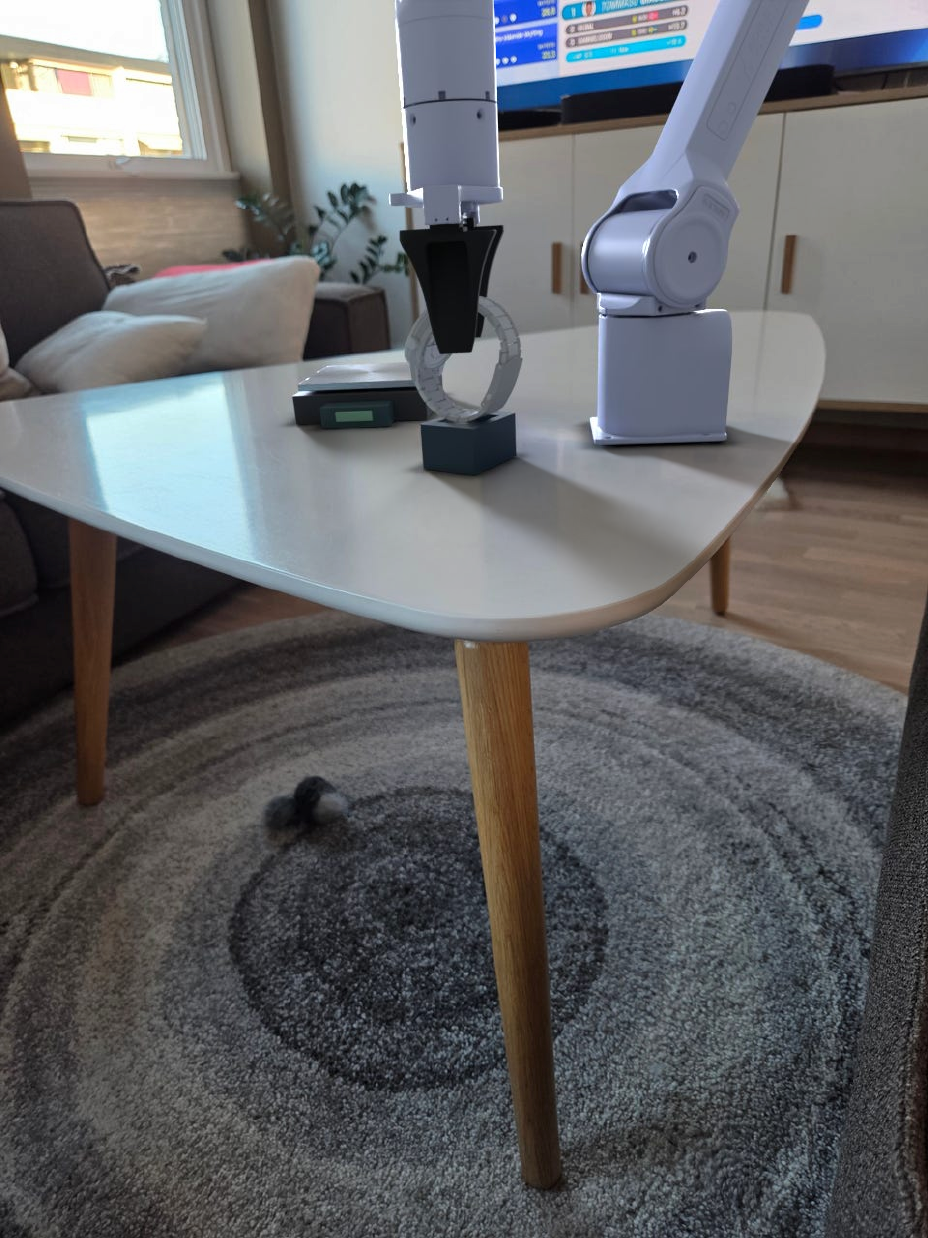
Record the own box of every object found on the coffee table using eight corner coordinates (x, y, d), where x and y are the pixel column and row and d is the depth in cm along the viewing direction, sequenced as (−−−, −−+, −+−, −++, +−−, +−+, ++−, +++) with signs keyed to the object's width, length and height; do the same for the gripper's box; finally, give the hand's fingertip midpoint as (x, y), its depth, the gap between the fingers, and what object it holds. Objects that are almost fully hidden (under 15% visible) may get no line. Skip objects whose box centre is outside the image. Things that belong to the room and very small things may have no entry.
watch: (445, 447, 62) (435, 293, 58) (537, 458, 58) (535, 292, 53) (400, 466, 58) (385, 301, 54) (496, 478, 54) (489, 301, 49)
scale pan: (435, 366, 81) (435, 360, 81) (420, 386, 72) (419, 379, 71) (328, 371, 83) (327, 365, 82) (298, 391, 73) (297, 384, 72)
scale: (443, 394, 83) (441, 368, 82) (423, 425, 70) (421, 396, 69) (328, 398, 84) (324, 373, 83) (287, 430, 71) (283, 401, 70)
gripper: (403, 125, 56) (418, 334, 62) (358, 95, 43) (383, 363, 49) (506, 118, 55) (511, 330, 61) (492, 85, 42) (501, 358, 48)
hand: (461, 344), depth 55 cm, fingers open, 7 cm apart
